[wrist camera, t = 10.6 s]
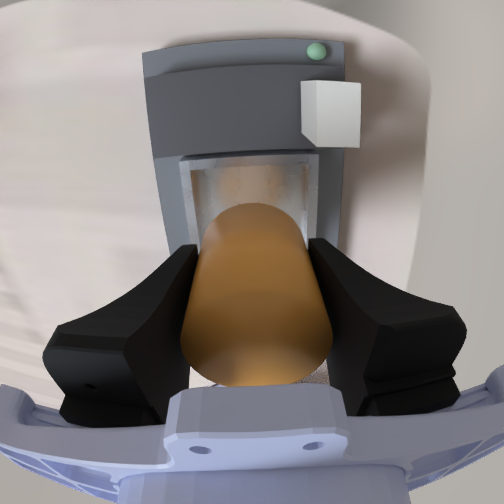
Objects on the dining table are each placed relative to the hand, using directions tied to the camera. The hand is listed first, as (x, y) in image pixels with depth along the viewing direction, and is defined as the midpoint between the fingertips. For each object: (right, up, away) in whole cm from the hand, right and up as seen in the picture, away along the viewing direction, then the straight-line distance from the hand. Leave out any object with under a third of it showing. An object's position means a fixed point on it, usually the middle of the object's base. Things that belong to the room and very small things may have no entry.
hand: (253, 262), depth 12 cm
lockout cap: (0, 0, +1) cm, 1 cm away
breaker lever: (+3, +7, 0) cm, 7 cm away
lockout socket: (0, +3, +4) cm, 5 cm away
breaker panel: (0, +3, +6) cm, 7 cm away
